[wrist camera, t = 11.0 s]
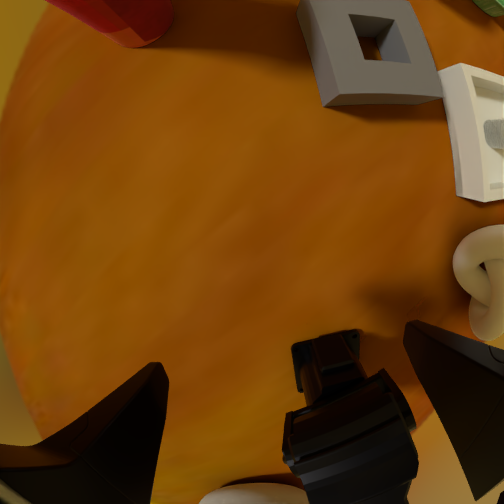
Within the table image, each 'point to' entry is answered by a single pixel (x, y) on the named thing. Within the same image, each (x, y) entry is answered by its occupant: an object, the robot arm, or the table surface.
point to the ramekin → (491, 7)
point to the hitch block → (351, 57)
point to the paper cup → (123, 18)
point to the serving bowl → (256, 494)
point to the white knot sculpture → (483, 279)
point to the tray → (474, 129)
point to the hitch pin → (494, 133)
